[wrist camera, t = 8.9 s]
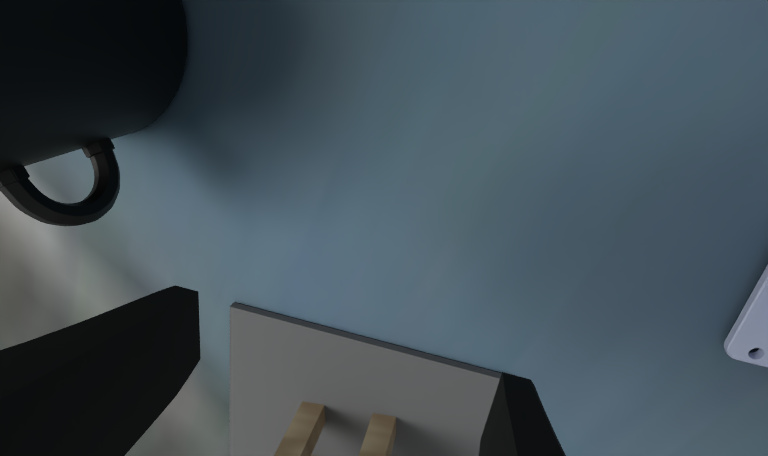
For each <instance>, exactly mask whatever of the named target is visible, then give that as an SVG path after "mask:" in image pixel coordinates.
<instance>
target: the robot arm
mask: <svg viewBox="0 0 768 456" xmlns="http://www.w3.org/2000/svg"><path fill="white" fill-rule="evenodd" d="M723 346H724V349H725V351H726V352H727V354H728V355H729V356H730V357H731V358H733V359H736V360H740V361H744V362H748V363H752V364H756V365H760V366H764V367H768V265H767V267H766V269H765V270H764V272H763V274H762V276H761V277H760V279H759V281H758V283H757V285H756V286H755V288H754V290H753V292H752V293H751V295H750V297H749V299H748V301H747V302H746V304H745V306H744V308H743V310H742V311H741V313H740V315H739V317H738V318H737V320H736V322H735V324H734V326H733V327H732V329H731V331H730V333H729V334H728V336H727V338H726V340H725V342H724V345H723ZM754 348H759V350H757V351H756V352H753V353H749V351H750V350H751V349H754ZM199 360H200V332H199V300H198V291H194V290H190V289H186V288H183V287H179V286H172V287H169V288H166V289H163V290H161V291H158V292H155V293H153V294H150V295H148V296H145V297H143V298H140V299H138V300H135V301H133V302H130V303H128V304H125V305H123V306H120V307H118V308H115V309H113V310H110V311H108V312H105V313H103V314H100V315H98V316H95V317H92V318H90V319H87V320H85V321H82V322H80V323H77V324H74V325H72V326H69V327H66V328H63V329H61V330H58V331H55V332H52V333H49V334H47V335H44V336H41V337H38V338H36V339H33V340H30V341H27V342H24V343H21V344H18V345H15V346H12V347H9V348H6V349H3V350H0V456H125V454H126V453H127V452H128V451H129V450H130V449H131V448H132V446H133V445H134V444H135V443H136V442H137V441H138V440H139V438H140V437H141V436H142V435H143V434H144V433H145V431H146V430H147V429H148V428H149V427H150V426H151V425H152V423H153V422H154V421H155V420H156V419H157V418H158V416H159V415H160V414H161V413H162V412H163V411H164V409H165V408H166V407H167V406H168V405H169V404H170V402H171V401H172V400H173V399H174V398H175V396H176V395H177V394H178V392H179V391H180V389H181V388H182V386H183V385H184V383H185V382H186V381H187V379H188V377H189V376H190V374H191V373H192V371H193V370H194V368H195V367H196V365H197V363H198V362H199ZM479 456H566V455H565V453H564V451H563V449H562V447H561V445H560V443H559V441H558V439H557V437H556V435H555V432H554V430H553V428H552V426H551V424H550V421H549V419H548V417H547V415H546V412H545V410H544V408H543V405H542V403H541V401H540V398H539V396H538V393H537V391H536V388H535V386H534V384H533V382H532V381H531V380H530V379H526V378H522V377H518V376H515V375H511V374H507V373H503V372H502V374H501V377H500V380H499V383H498V387H497V390H496V393H495V396H494V399H493V402H492V405H491V408H490V411H489V415H488V418H487V421H486V424H485V427H484V430H483V433H482V436H481V440H480V448H479Z"/></svg>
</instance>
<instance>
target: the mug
mask: <svg viewBox="0 0 768 456" xmlns="http://www.w3.org/2000/svg"><path fill="white" fill-rule="evenodd" d="M186 57H187V29H186V20H185V14H184V10H183V5H182V1H181V0H0V191H1V192H2V193H3V194H4V195H5V196H6V197H7V198H8V200H9V201H10V202H11V203H12V204H13V205H14V206H15V207H16V208H18V209H19V210H20V211H22V212H23V213H25V214H27V215H29V216H30V217H32V218H34V219H36V220H38V221H40V222H43V223H47V224H52V225H59V226H76V225H82V224H86V223H90V222H93V221H96V220H98V219H99V218H101V217H102V216H103V215H104V214H106V213H107V212H108V211H109V210H110V209H111V208H112V206H113V204H114V203H115V200H116V198H117V196H118V193H119V189H120V171H119V166H118V163H117V160H116V158H115V155H114V152H113V149H114V148H115V147H114V145H113V143H112V141H111V139H113V138H116V137H120V136H123V135H126V134H129V133H132V132H136V131H138V130H140V129H142V128H144V127H146V126H148V125H149V124H151V123H152V122H153V121H155V120H156V119H157V118H158V117H159V116H161V114H162V113H163V112H164V111H165V109H166V108H167V107H168V105H169V104H170V102H171V101H172V99H173V98H174V96H175V94H176V92H177V90H178V88H179V86H180V83H181V80H182V77H183V73H184V69H185V63H186ZM81 148H82V150H83V152H84V154H85V155H86V157H88V158H90V160H91V162H92V165H93V169H94V176H95V179H94V185H93V188H92V191H91V192H90V194H89V195H88V196H87V197H86V198H85V199H84V200H83V201H81V202H78V203H72V204H66V203H60V202H56V201H54V200H52V199H50V198H48V197H47V196H45V195H44V194H42V193H41V192H40V191H39V190H38V189H37V188H36V187H35V186H34V185H33V184H32V183H31V181H30V180H29V179H28V178H29V177H30V176H29V174H28V172H27V171H26V169H25V167H24V166H26V165H30V164H33V163H36V162H39V161H43V160H46V159H49V158H52V157H55V156H59V155H62V154H65V153H68V152H71V151H75V150H78V149H81Z"/></svg>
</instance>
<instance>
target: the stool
mask: <svg viewBox="0 0 768 456" xmlns="http://www.w3.org/2000/svg"><path fill="white" fill-rule="evenodd" d="M325 423H326V422H325V409H324V405H322V404H316V403H309V402H303V401H302V403H301V405H300V407H299V409H298V411H297V412H296V414H295V416H294V418H293V420H292V422H291V424H290V426H289V428H288V430H287V431H286V433H285V435H284V437H283V439H282V441H281V443H280V445H279V447H278V448H277V450H276V452H275V454H274V456H315V455H311V454H312V452H313V450H314V447H315V445H316V443H317V441H318V438H319V436H320V434H321V432H322V429H323V427H324V425H325ZM395 437H396V417H394V416H388V415H382V414H376V413H373V414H372V417H371V420H370V423H369V426H368V429H367V432H366V435H365V438H364V441H363V444H362V447H361V450H360V453H359V456H391V452H392V449H393V445H394V441H395Z"/></svg>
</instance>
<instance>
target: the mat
mask: <svg viewBox="0 0 768 456" xmlns="http://www.w3.org/2000/svg"><path fill="white" fill-rule="evenodd" d="M501 374H502V373H499V372H495V371H491V370H487V369H484V368H480V367H476V366H472V365H469V364H465V363H461V362H457V361H453V360H450V359H446V358H442V357H438V356H435V355H431V354H427V353H423V352H420V351H416V350H412V349H408V348H404V347H401V346H397V345H393V344H389V343H386V342H382V341H378V340H374V339H371V338H367V337H363V336H359V335H355V334H352V333H348V332H344V331H340V330H337V329H333V328H329V327H325V326H322V325H318V324H314V323H310V322H306V321H303V320H299V319H295V318H291V317H288V316H284V315H280V314H276V313H273V312H269V311H265V310H261V309H257V308H254V307H250V306H246V305H242V304H239V303H235V302H234V303H233V304H232V305H231V306H230V456H274V454H275V452H276V450H277V448H278V447H279V445H280V443H281V441H282V439H283V437H284V435H285V433H286V431H287V430H288V428H289V426H290V424H291V422H292V420H293V418H294V416H295V414H296V412H297V411H298V409H299V407H300V405H301V403H302V401H303V402H309V403H316V404H322V405H324V409H325V422H326V423H325V425H324V427H323V429H322V432H321V434H320V436H319V438H318V441H317V443H316V445H315V447H314V450H313V452H312V454H311V455H315V456H359V453H360V450H361V447H362V444H363V441H364V438H365V435H366V432H367V429H368V426H369V423H370V420H371V417H372V414H373V413H376V414H382V415H388V416H394V417H396V437H395V441H394V445H393V449H392V452H391V456H479V448H480V440H481V436H482V433H483V430H484V427H485V424H486V421H487V418H488V415H489V411H490V408H491V405H492V402H493V399H494V396H495V393H496V390H497V387H498V383H499V380H500V377H501Z"/></svg>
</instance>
